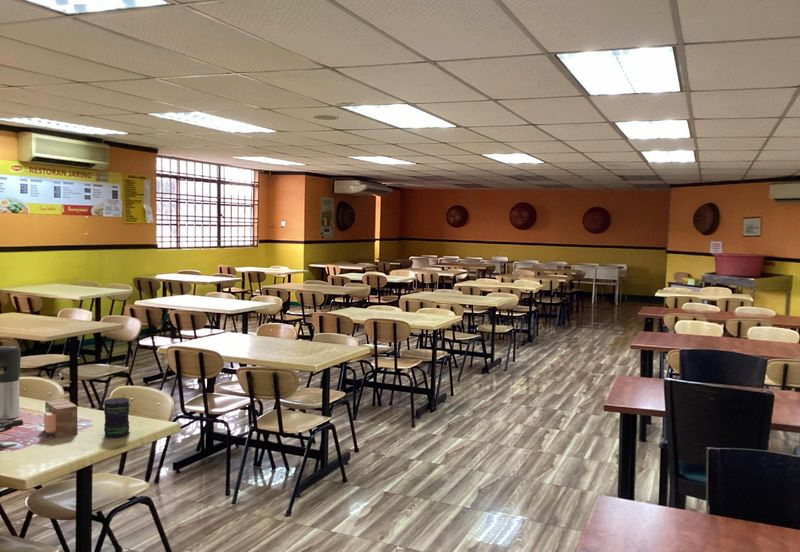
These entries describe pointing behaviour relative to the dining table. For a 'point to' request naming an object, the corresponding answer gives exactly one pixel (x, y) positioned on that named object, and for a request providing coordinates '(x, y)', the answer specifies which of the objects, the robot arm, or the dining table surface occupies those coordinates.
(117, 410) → the dark blue barrel
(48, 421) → the terracotta button
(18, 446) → the dining table surface
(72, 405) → the walnut console
